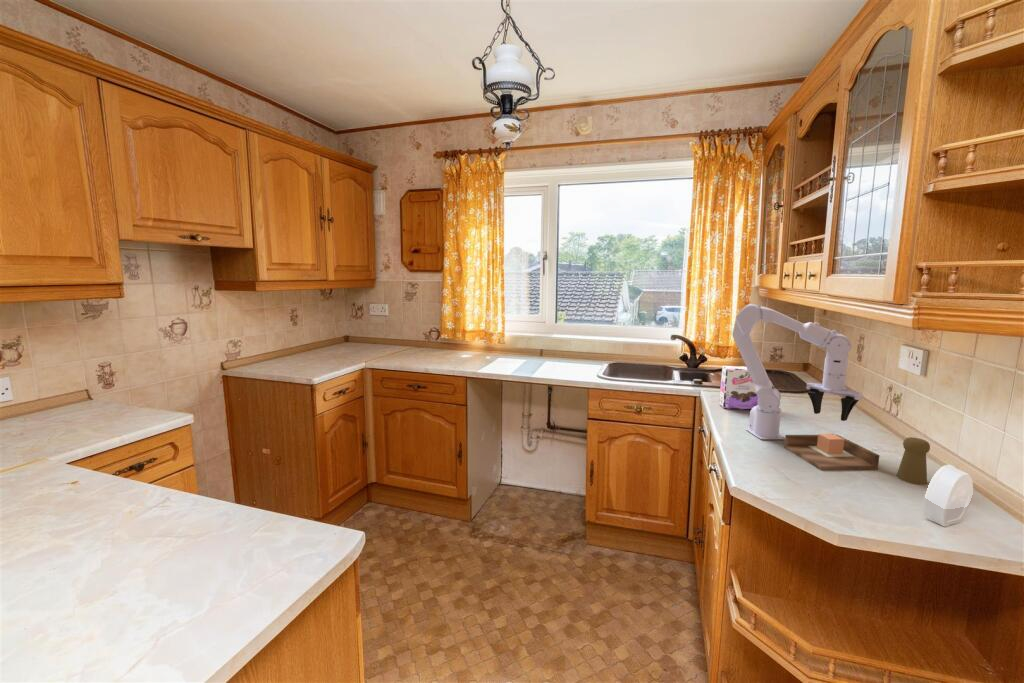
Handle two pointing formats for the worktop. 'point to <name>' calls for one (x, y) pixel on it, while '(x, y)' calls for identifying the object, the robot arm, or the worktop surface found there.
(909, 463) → the cork
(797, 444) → the arena
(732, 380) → the candy box
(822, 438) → the cube
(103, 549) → the worktop surface
